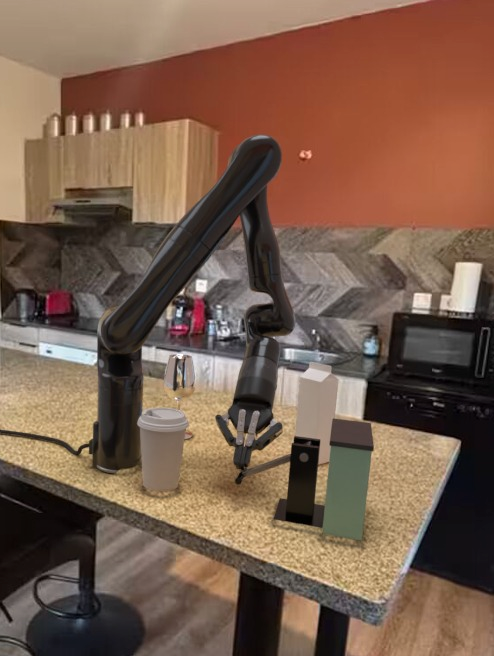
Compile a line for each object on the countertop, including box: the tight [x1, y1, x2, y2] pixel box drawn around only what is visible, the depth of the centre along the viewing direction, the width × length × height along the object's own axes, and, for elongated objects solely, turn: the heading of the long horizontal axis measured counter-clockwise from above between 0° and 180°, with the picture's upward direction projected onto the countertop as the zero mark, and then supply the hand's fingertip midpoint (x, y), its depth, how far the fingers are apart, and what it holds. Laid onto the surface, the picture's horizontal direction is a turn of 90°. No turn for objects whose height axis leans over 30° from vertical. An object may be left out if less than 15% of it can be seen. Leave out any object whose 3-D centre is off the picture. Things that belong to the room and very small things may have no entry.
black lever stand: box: [273, 435, 325, 529], centre depth 94 cm, size 8×9×14 cm
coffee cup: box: [137, 407, 190, 492], centre depth 103 cm, size 10×10×15 cm
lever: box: [234, 441, 313, 486], centre depth 95 cm, size 14×6×2 cm, turn 72°
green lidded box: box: [321, 418, 375, 541], centre depth 91 cm, size 6×13×17 cm, turn 163°
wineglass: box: [162, 353, 196, 440], centre depth 136 cm, size 8×8×20 cm
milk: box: [294, 361, 340, 466], centre depth 122 cm, size 6×6×22 cm
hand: (240, 467), depth 97 cm, fingers closed
